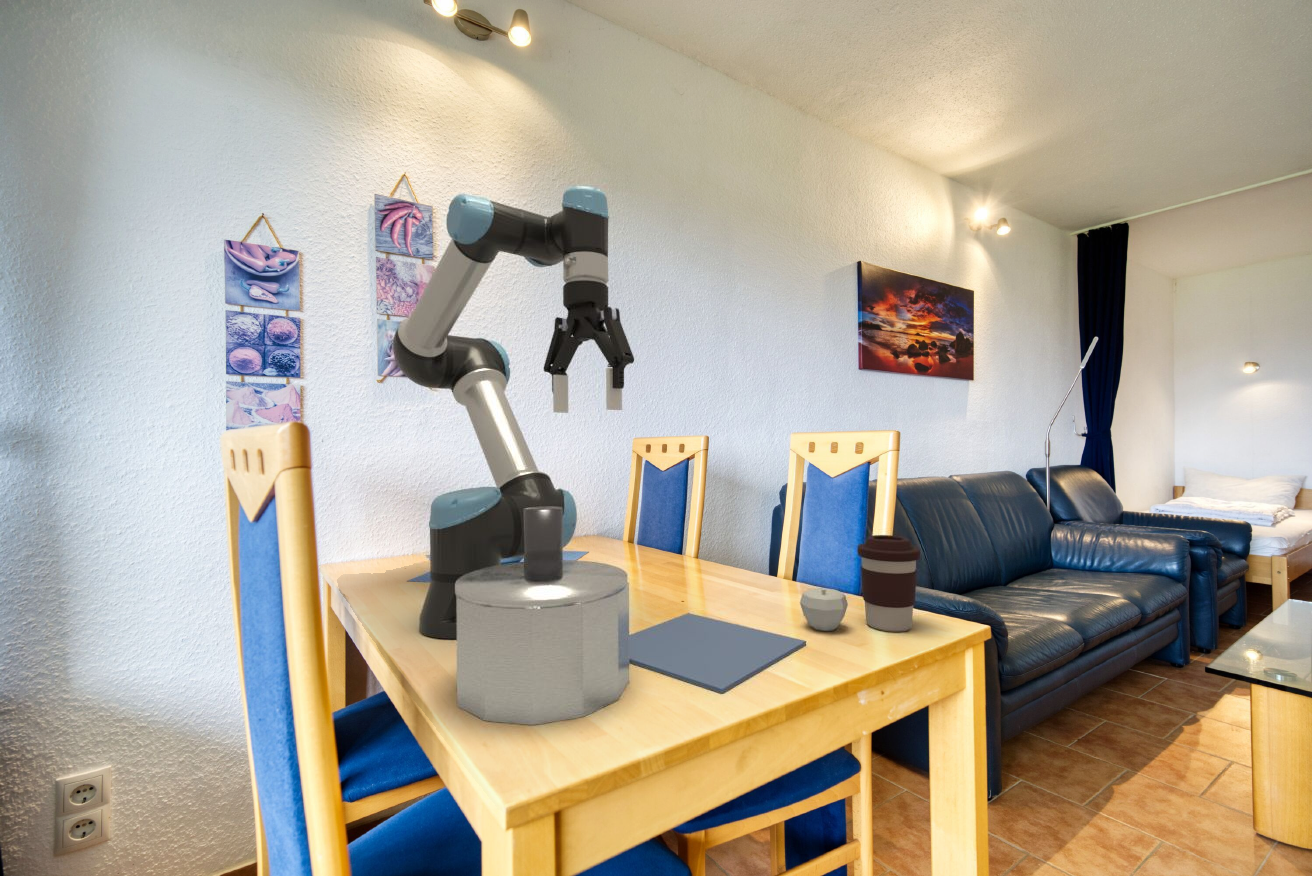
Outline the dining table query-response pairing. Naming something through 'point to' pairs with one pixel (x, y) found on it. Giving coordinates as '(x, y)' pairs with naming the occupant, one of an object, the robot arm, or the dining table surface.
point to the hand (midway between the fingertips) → (586, 411)
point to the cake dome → (542, 632)
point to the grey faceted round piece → (823, 608)
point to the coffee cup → (888, 581)
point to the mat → (708, 651)
